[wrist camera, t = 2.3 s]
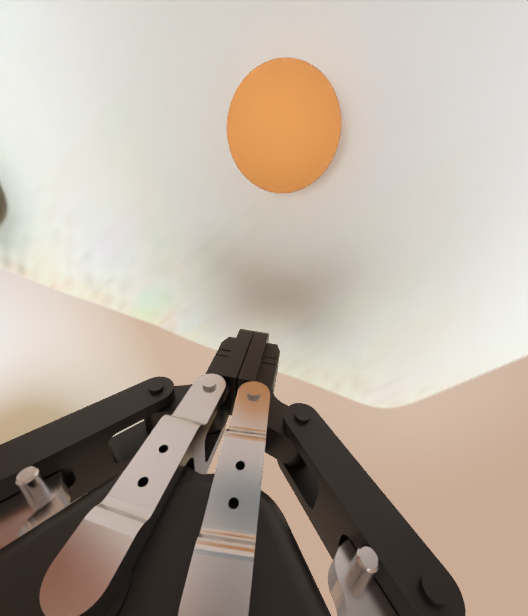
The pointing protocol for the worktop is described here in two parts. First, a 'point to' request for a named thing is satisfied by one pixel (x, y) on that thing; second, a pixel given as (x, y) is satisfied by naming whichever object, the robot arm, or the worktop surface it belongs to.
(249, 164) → the ball
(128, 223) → the worktop surface
